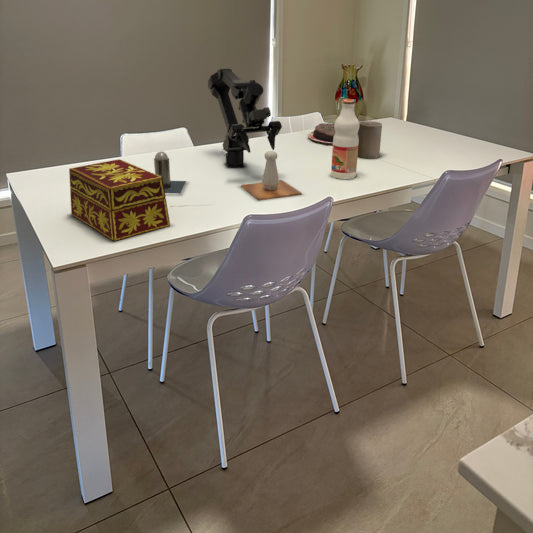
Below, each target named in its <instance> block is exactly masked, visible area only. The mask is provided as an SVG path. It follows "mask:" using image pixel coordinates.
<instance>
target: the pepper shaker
mask: <svg viewBox="0 0 533 533" xmlns="http://www.w3.org/2000/svg"><path fill="white" fill-rule="evenodd" d="M170 165H171V164H170V157H169V156H168V154H167V153H166V152H165V151H158V152H157V153H155V156H154V158H153V166H154V168H153V169H154V174H156V175H159V176H161V177H162V178H163V184H164V189H167V188H170V187H171V181H172V180H171V166H170Z"/></svg>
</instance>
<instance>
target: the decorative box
mask: <svg viewBox="0 0 533 533" xmlns="http://www.w3.org/2000/svg"><path fill="white" fill-rule="evenodd" d="M68 171H69V172H68V174H69V190H70V191H69V194H70V213H71V215H72V216H73V217H74V218H76V219H77V220H79V221H81V222H83V223H84V224H86V225H87V226H89V227H90V228H92V229H94V230H95V231H97V232H99V233H100V234H102V235H103V236H104V237H107V239H110V240H111V241H113V242H116V241H119V240H123V239H127V238H130V237H135V236H138V235H142V234H145V233H149V232H153V231H156V230H159V229H164V228H167V227H170V226H171V222H170V216H169V209H168V203H167V198H166V193H165V190H164V184H163V178H162V177H161V176H159V175H156V174H155V172H152V171H150V170H147V169H145V168H142V167H140V166H137V165H134V164H132V163H130V162H127V161H126V160H122V159H119V158H117V159H113V160H108V161H102V162H96V163H92V164H86V165H82V166H81V165H79V166H75V167H71V168H69V169H68Z"/></svg>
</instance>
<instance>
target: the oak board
mask: <svg viewBox="0 0 533 533" xmlns="http://www.w3.org/2000/svg"><path fill="white" fill-rule="evenodd" d="M240 187H241V188H242V189H243V190H245V191H246V192H247V193H249V194H250V195H251V196H252V197H254V198H255V199H256V200H257V201H265V200H271V199H279V198H286V197H293V196H294V197H295V196H300V195H302V192H301V191H300V190H298V189H296V188H295V187H293V186H292V185H290V184H289V183H287V182H286V181H284V180H282V179H281V180H280V179H279V184H278V186H277V189H275V190H270V191H269V190H265V188H264V186H263V184H262V182H256V183H255V182H254V183H247V184H240Z"/></svg>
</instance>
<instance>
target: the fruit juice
mask: <svg viewBox="0 0 533 533" xmlns="http://www.w3.org/2000/svg"><path fill="white" fill-rule="evenodd" d="M355 106H356V99H352V98H344V99H343V98H342V99H341V110H340V113H339V115H338V116H337V118H336V119H335V120H334V123H335V124H334V128H335V135H334V137H333V145H332V150H331V151H332V152H331V169H330V173H331V174H330V175H331V177H333V178H335V179H339V180H351V179H354V178H356V176H357V170H358V168H357V167H358V158H359V157H358V145H359V137H358V130H359V126H360V124H359V122H360V120H359V119H358V118H357V116H356V112H355Z"/></svg>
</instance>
